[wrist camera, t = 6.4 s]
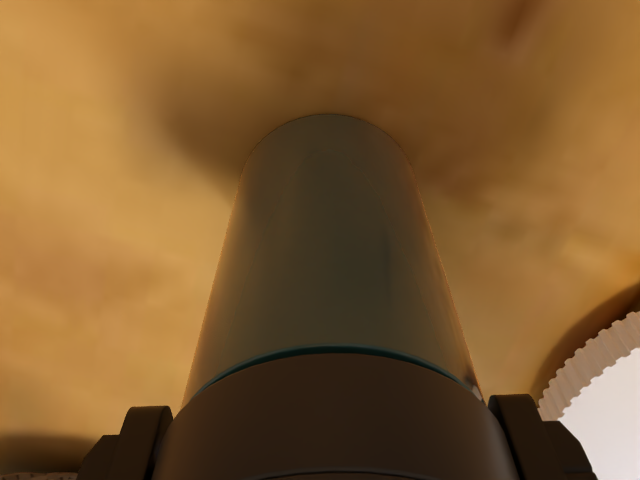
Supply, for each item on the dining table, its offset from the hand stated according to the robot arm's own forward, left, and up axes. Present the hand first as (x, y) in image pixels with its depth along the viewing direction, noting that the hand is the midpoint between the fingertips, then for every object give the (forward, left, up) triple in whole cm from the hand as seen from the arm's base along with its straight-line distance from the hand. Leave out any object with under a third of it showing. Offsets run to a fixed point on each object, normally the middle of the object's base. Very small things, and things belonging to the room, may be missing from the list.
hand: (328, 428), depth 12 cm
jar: (0, 0, -10) cm, 10 cm away
